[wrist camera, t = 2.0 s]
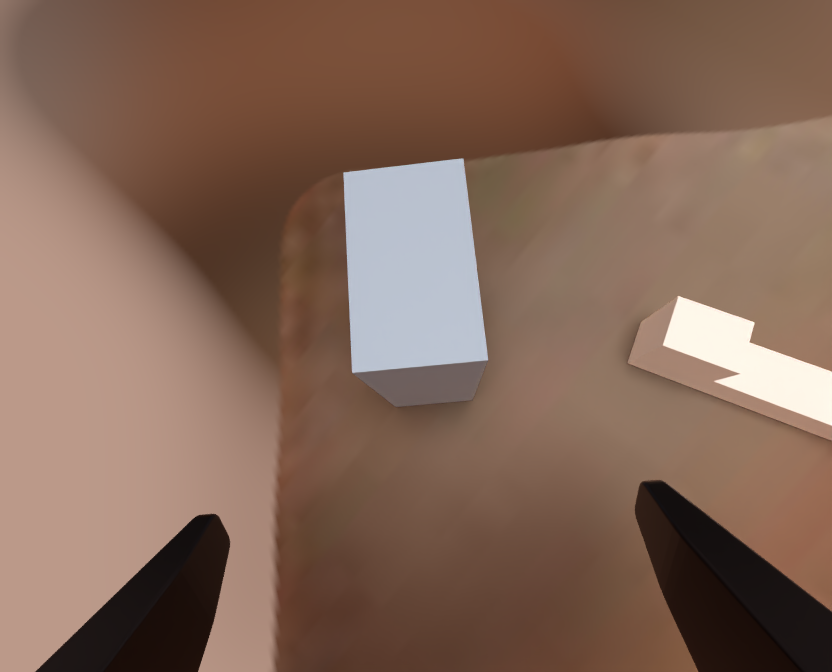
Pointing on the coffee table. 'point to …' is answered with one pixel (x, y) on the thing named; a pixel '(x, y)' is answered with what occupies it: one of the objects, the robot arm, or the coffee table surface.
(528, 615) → the coffee table surface
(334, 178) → the coffee table surface
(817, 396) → the slotted rail
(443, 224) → the slotted block
